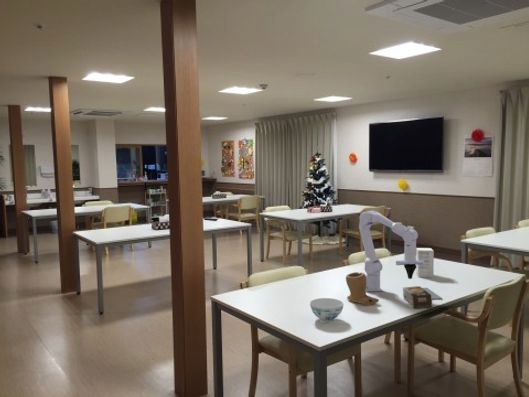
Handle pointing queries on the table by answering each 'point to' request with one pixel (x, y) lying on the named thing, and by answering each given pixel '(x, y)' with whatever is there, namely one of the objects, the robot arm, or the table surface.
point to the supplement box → (425, 262)
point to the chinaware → (326, 308)
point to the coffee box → (417, 297)
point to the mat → (432, 294)
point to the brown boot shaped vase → (359, 289)
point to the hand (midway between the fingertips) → (409, 278)
